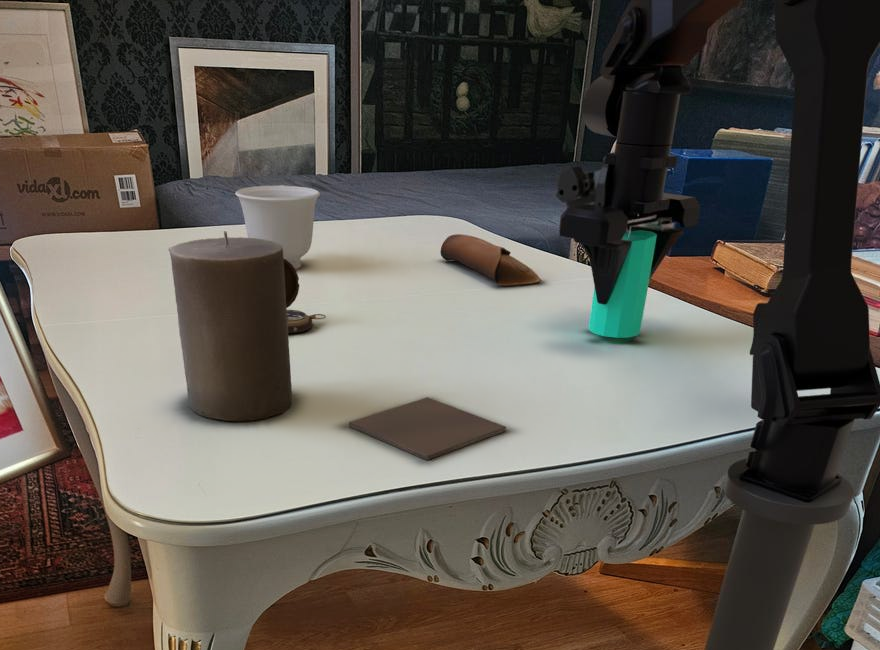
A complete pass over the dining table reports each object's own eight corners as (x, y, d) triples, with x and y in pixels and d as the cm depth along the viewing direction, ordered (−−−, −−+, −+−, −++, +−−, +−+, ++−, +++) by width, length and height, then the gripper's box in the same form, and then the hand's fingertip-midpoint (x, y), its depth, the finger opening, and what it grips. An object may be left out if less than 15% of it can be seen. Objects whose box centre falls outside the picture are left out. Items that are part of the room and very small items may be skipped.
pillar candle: (297, 419, 79) (289, 240, 70) (188, 425, 77) (165, 243, 68) (286, 383, 86) (277, 219, 78) (186, 388, 85) (166, 220, 76)
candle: (648, 329, 102) (668, 218, 95) (627, 340, 98) (647, 225, 91) (601, 320, 105) (617, 211, 98) (579, 331, 101) (595, 218, 94)
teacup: (324, 254, 136) (322, 183, 131) (320, 276, 124) (317, 198, 119) (248, 253, 136) (242, 182, 130) (236, 274, 124) (229, 197, 118)
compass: (270, 337, 99) (266, 270, 95) (250, 319, 105) (245, 255, 101) (335, 330, 102) (333, 264, 98) (311, 313, 108) (309, 250, 104)
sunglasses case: (546, 279, 123) (530, 236, 119) (507, 309, 123) (489, 268, 119) (487, 254, 137) (470, 215, 132) (451, 281, 137) (433, 243, 132)
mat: (506, 430, 77) (506, 426, 77) (427, 460, 72) (427, 456, 71) (427, 401, 83) (427, 397, 83) (348, 426, 77) (348, 422, 77)
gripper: (629, 133, 101) (608, 275, 109) (527, 141, 90) (513, 298, 99) (716, 141, 94) (686, 291, 103) (616, 151, 83) (592, 318, 92)
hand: (619, 299), depth 99 cm, fingers closed on candle, 6 cm apart
